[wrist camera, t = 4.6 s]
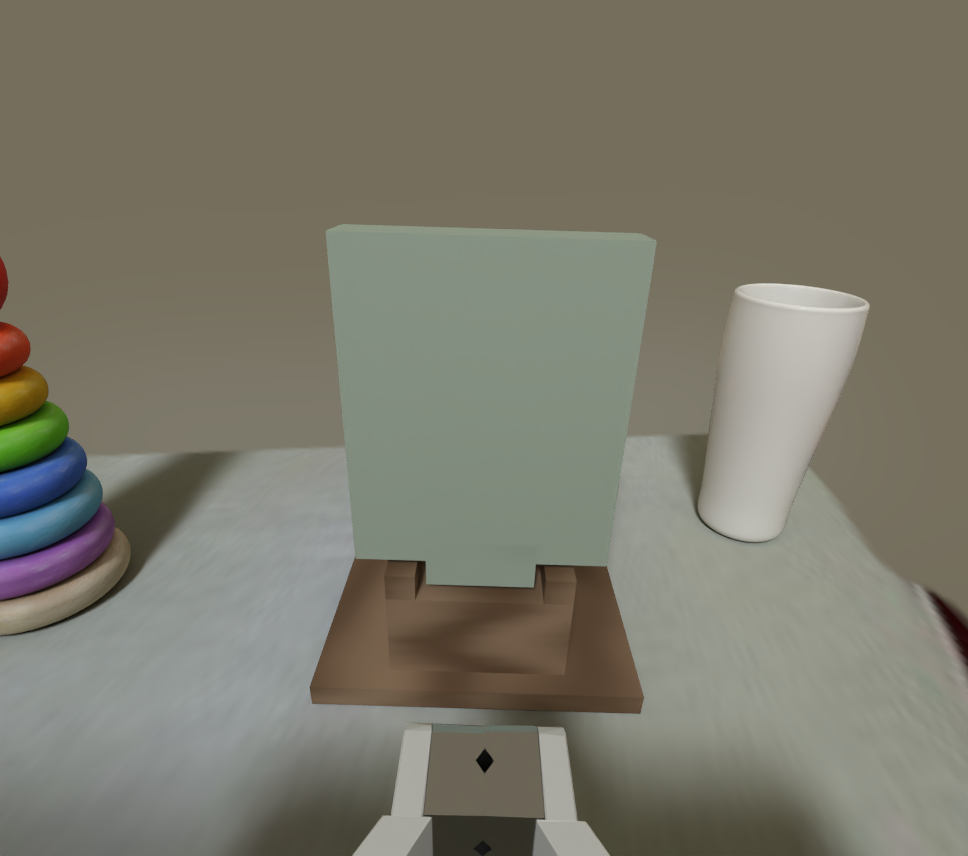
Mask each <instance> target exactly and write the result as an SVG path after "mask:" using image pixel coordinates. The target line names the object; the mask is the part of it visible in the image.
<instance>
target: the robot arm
mask: <svg viewBox="0 0 968 856" xmlns="http://www.w3.org/2000/svg"><path fill="white" fill-rule="evenodd" d="M352 856H610V854H609V853H608V852H607V850H606V849H605V847H604V846H603V844H602V843H601V842H600V840H599V839H598V837H597V836H596V835H595V833H594V832H593V830H592V829H591V828H590V826H589V825H588V823H587V822H586V821H578V819H577V812H576V804H575V797H574V789H573V782H572V774H571V767H570V760H569V752H568V745H567V737H566V732H565V730H564V728H563V727H536V726H525V725H485V726H475V725H453V724H433V723H406V726H405V729H404V733H403V739H402V746H401V752H400V758H399V765H398V771H397V778H396V784H395V791H394V797H393V804H392V810H391V815H382V817H381V818H380V819H379V821H378V822H377V823H376V825H375V826H374V827H373V829H372V830H371V831H370V832H369V834H368V835H367V836H366V838H365V839H364V840H363V842H362V843H361V844H360V846H359V847H358V848H357V850H356V851H355V852H354V854H353V855H352Z"/></svg>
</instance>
